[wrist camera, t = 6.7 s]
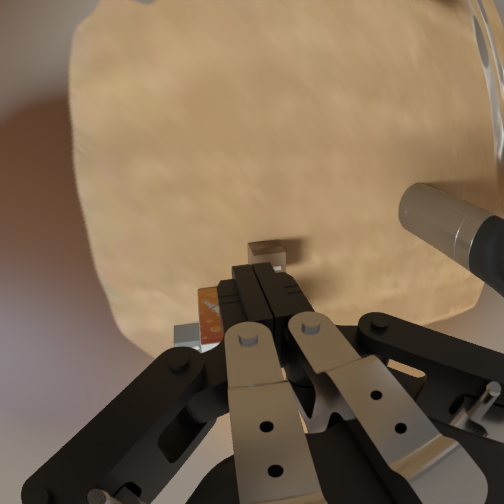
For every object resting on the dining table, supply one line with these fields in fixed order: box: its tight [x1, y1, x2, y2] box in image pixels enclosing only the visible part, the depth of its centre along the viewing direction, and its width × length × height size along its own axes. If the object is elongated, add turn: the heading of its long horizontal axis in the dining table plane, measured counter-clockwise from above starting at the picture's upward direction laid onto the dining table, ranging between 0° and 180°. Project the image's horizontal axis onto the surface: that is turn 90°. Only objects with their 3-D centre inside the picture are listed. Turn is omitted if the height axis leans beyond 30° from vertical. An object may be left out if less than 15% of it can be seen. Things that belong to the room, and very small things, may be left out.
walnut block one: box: [248, 240, 286, 273], centre depth 42 cm, size 4×4×5 cm
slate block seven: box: [174, 323, 202, 353], centre depth 46 cm, size 4×4×5 cm
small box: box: [197, 287, 224, 353], centre depth 41 cm, size 8×6×13 cm
